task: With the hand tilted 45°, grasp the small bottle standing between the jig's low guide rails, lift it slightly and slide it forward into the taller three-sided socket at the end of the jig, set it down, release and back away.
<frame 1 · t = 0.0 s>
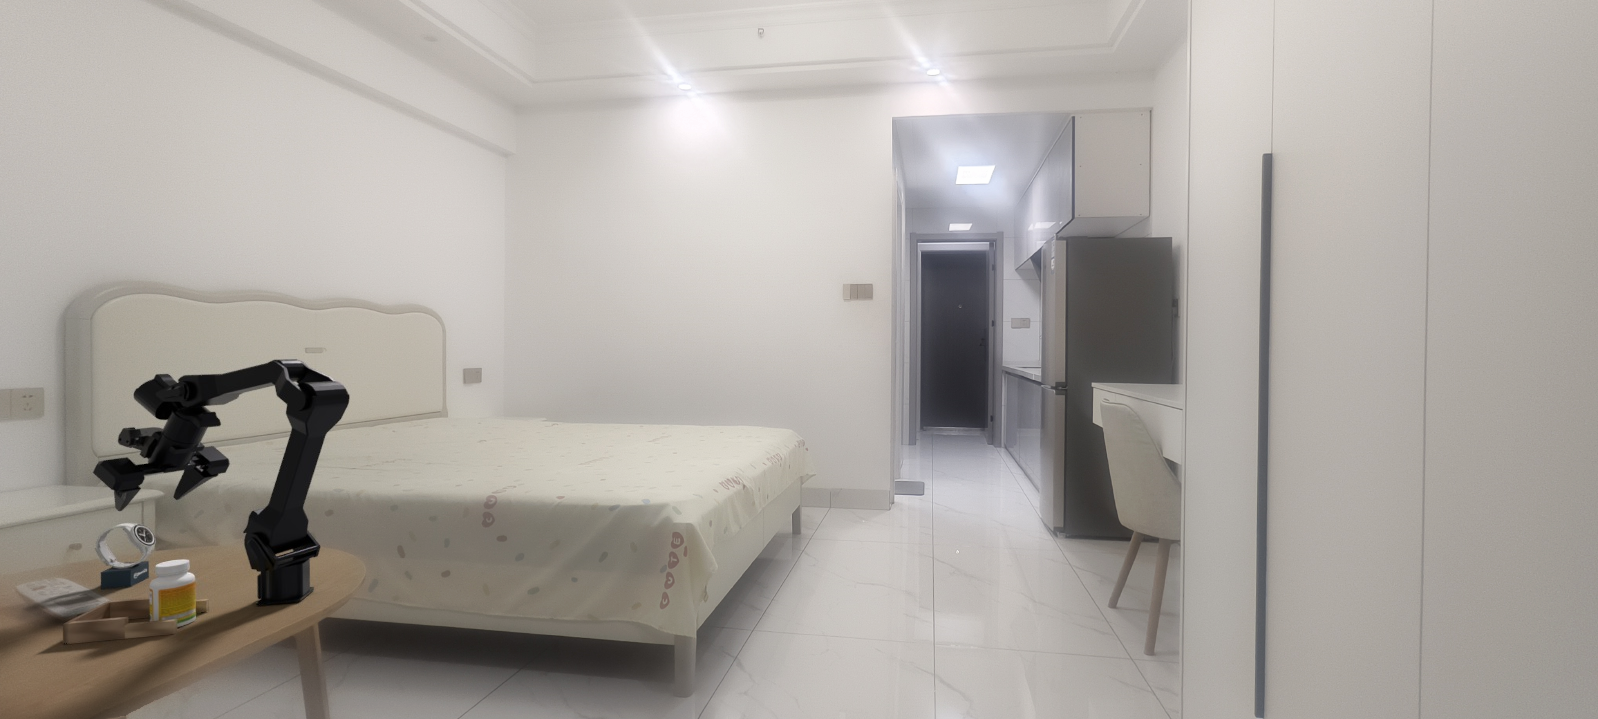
hand: (148, 503, 126), 15 cm above the table, tool tilted 35°, fingers open, 9 cm apart
supplement bottle: (173, 624, 108), on the table
watch: (126, 583, 127), on the table
jig: (148, 625, 107), on the table
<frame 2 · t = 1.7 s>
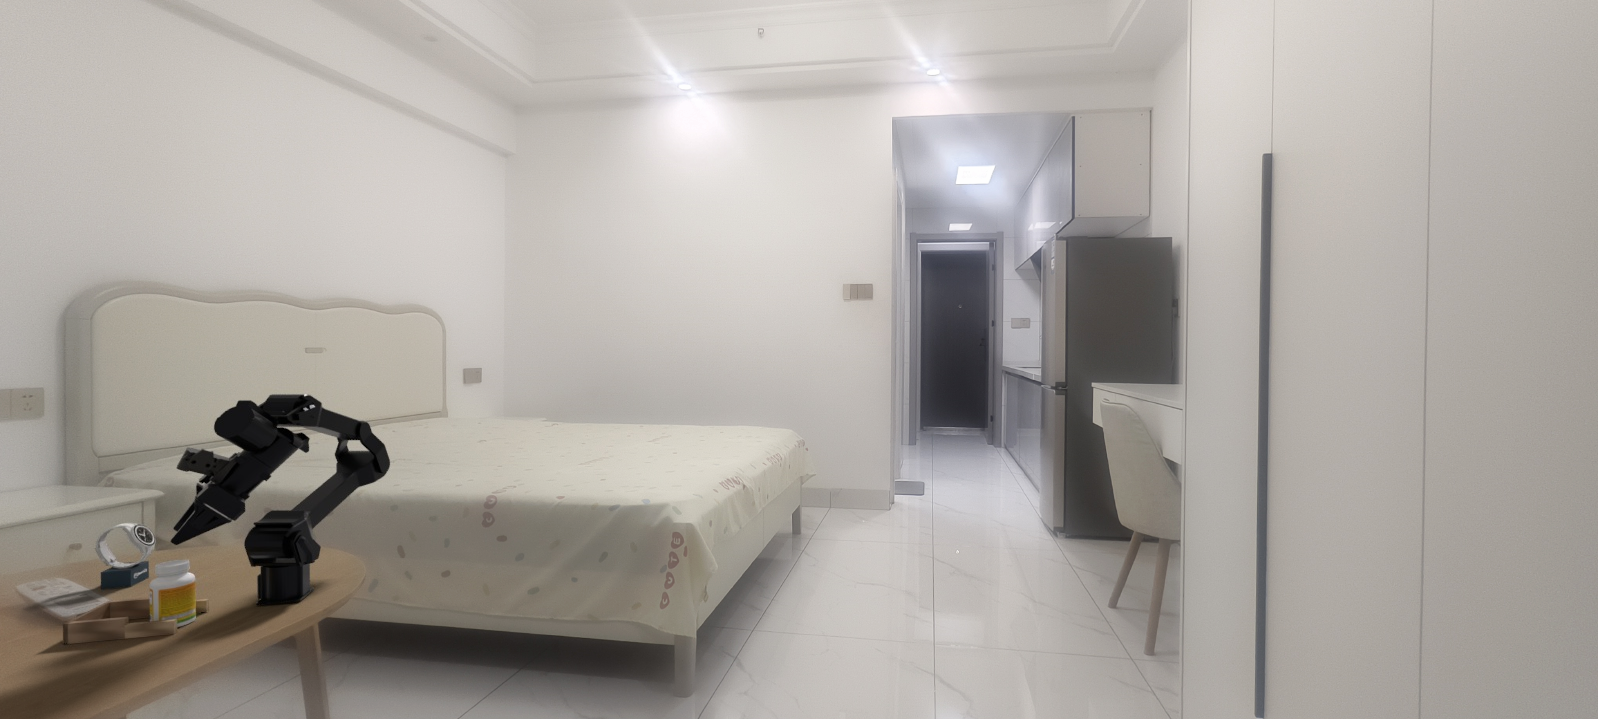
hand: (174, 536, 108), 14 cm above the table, tool tilted 45°, fingers open, 9 cm apart
nothing on the table moved.
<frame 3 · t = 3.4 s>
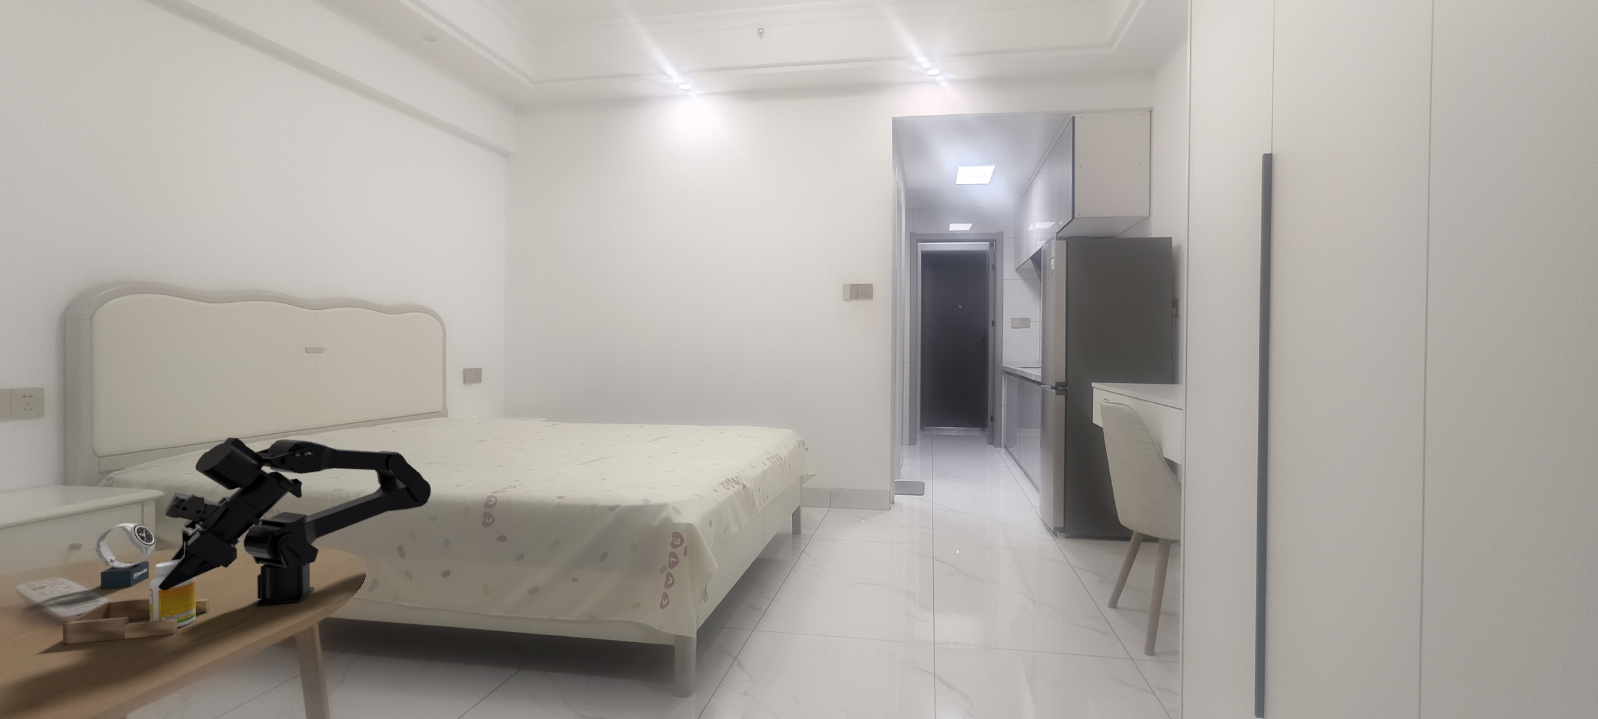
hand: (160, 584, 107), 7 cm above the table, tool tilted 45°, fingers closed on supplement bottle, 5 cm apart
supplement bottle: (173, 624, 108), on the table, touching gripper
everything else where it was.
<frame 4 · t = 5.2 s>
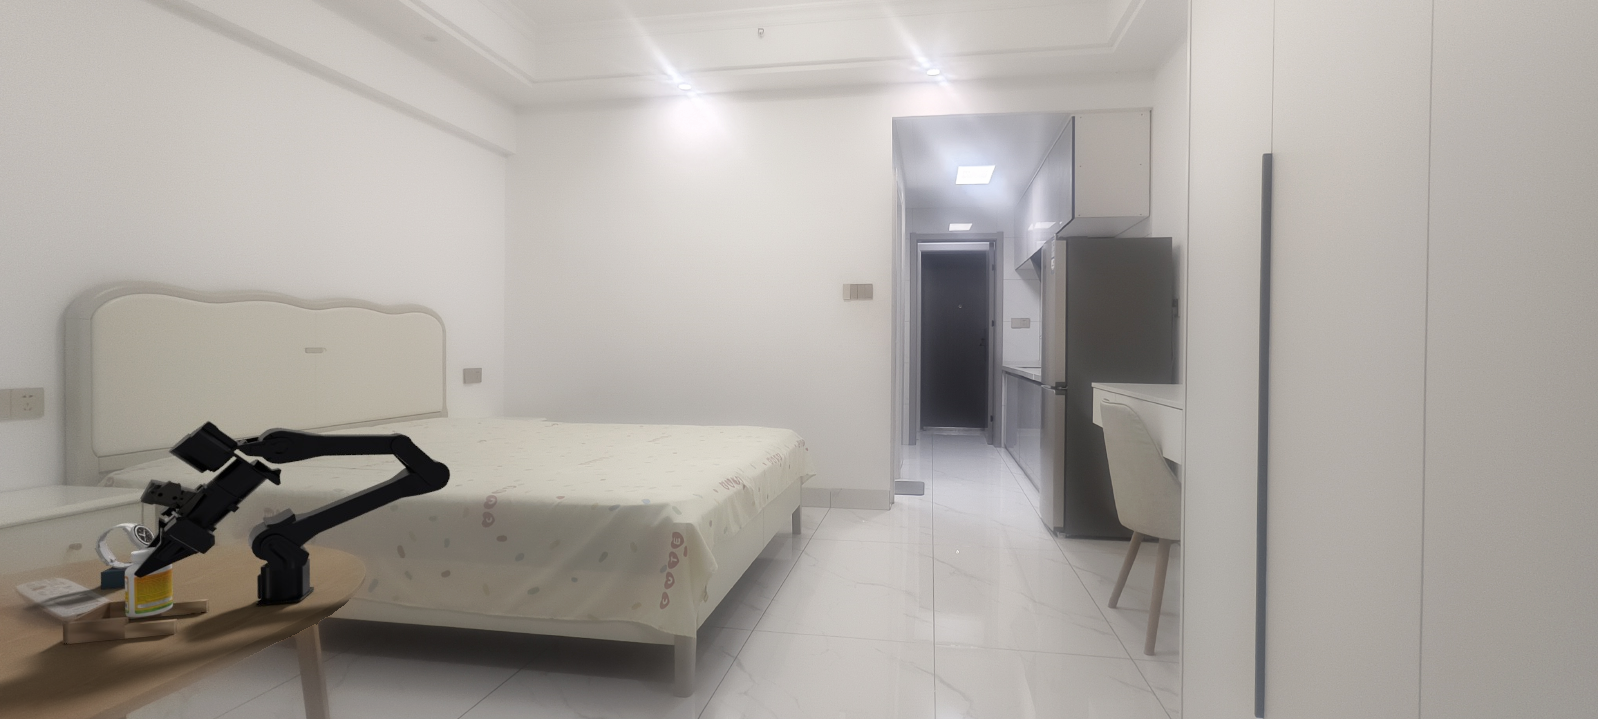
hand: (136, 571, 106), 9 cm above the table, tool tilted 45°, fingers closed on supplement bottle, 5 cm apart
supplement bottle: (149, 612, 107), point 2 cm above the table, touching gripper
everything else where it was.
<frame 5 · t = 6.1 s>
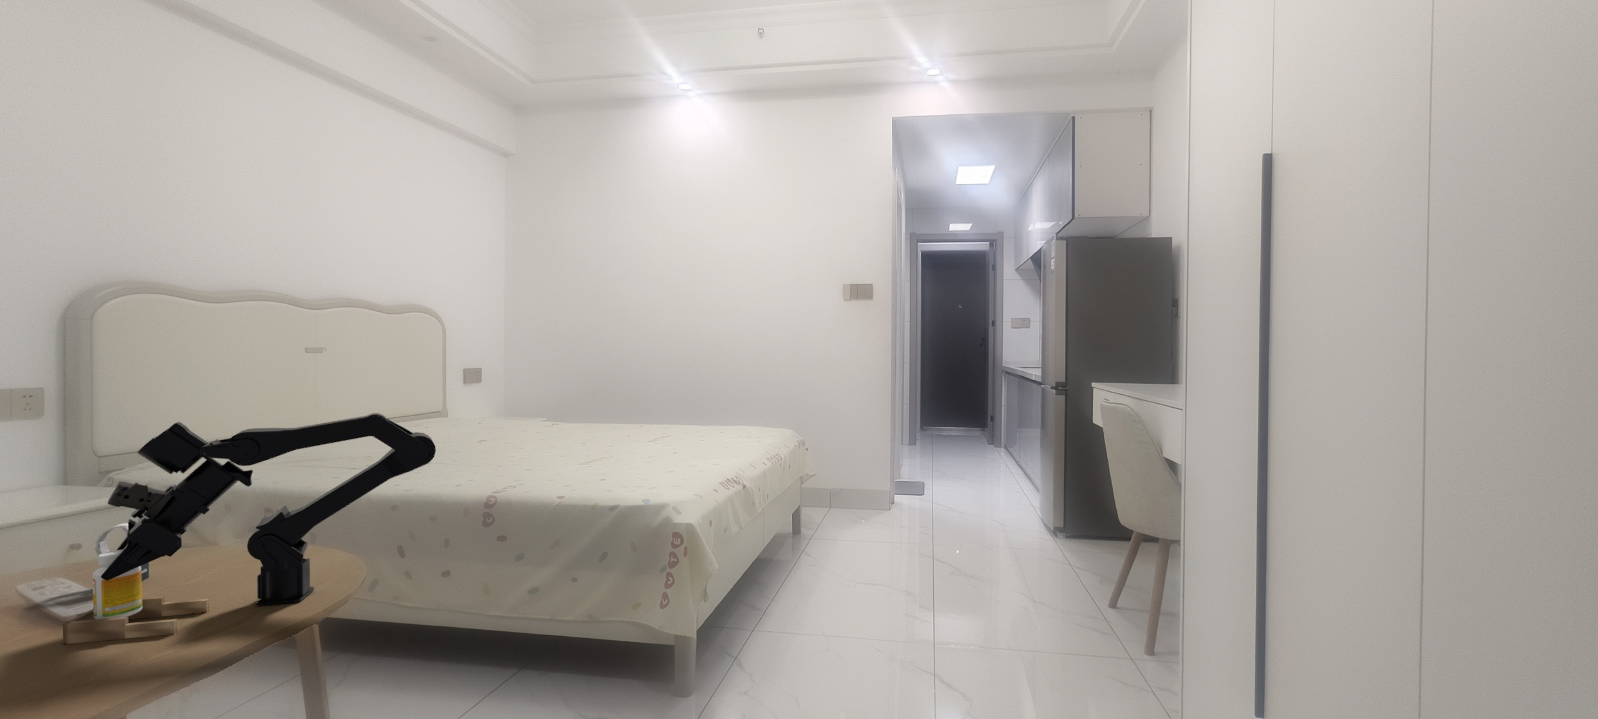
hand: (104, 574, 105), 9 cm above the table, tool tilted 45°, fingers closed on supplement bottle, 5 cm apart
supplement bottle: (118, 615, 106), point 2 cm above the table, touching gripper
everything else where it was.
when the fingers open (7 cm above the table, at t = 7.0 s): supplement bottle stays where it is, on the table.
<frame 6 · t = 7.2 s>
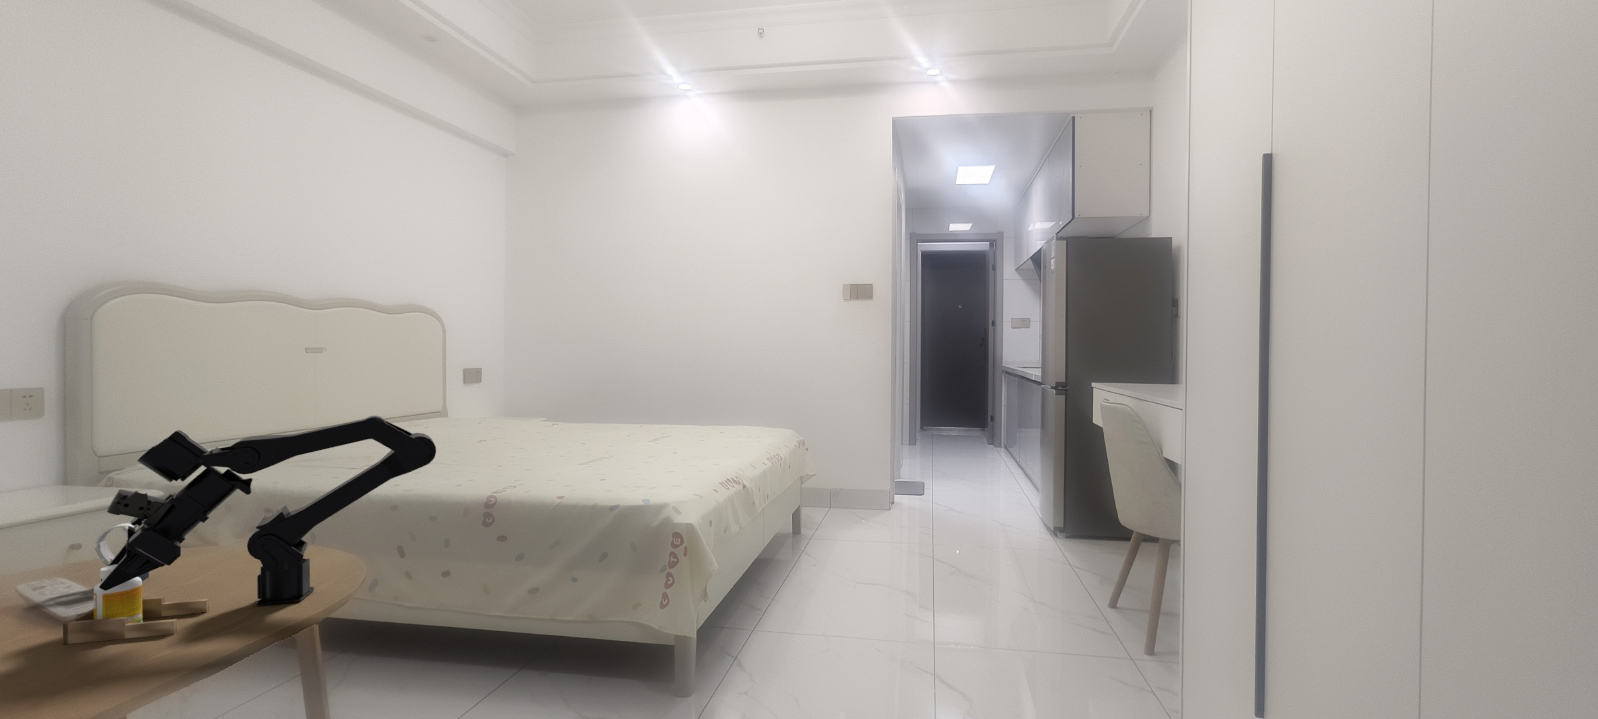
hand: (103, 582, 105), 8 cm above the table, tool tilted 45°, fingers open, 7 cm apart
supplement bottle: (118, 629, 106), on the table
everything else where it was.
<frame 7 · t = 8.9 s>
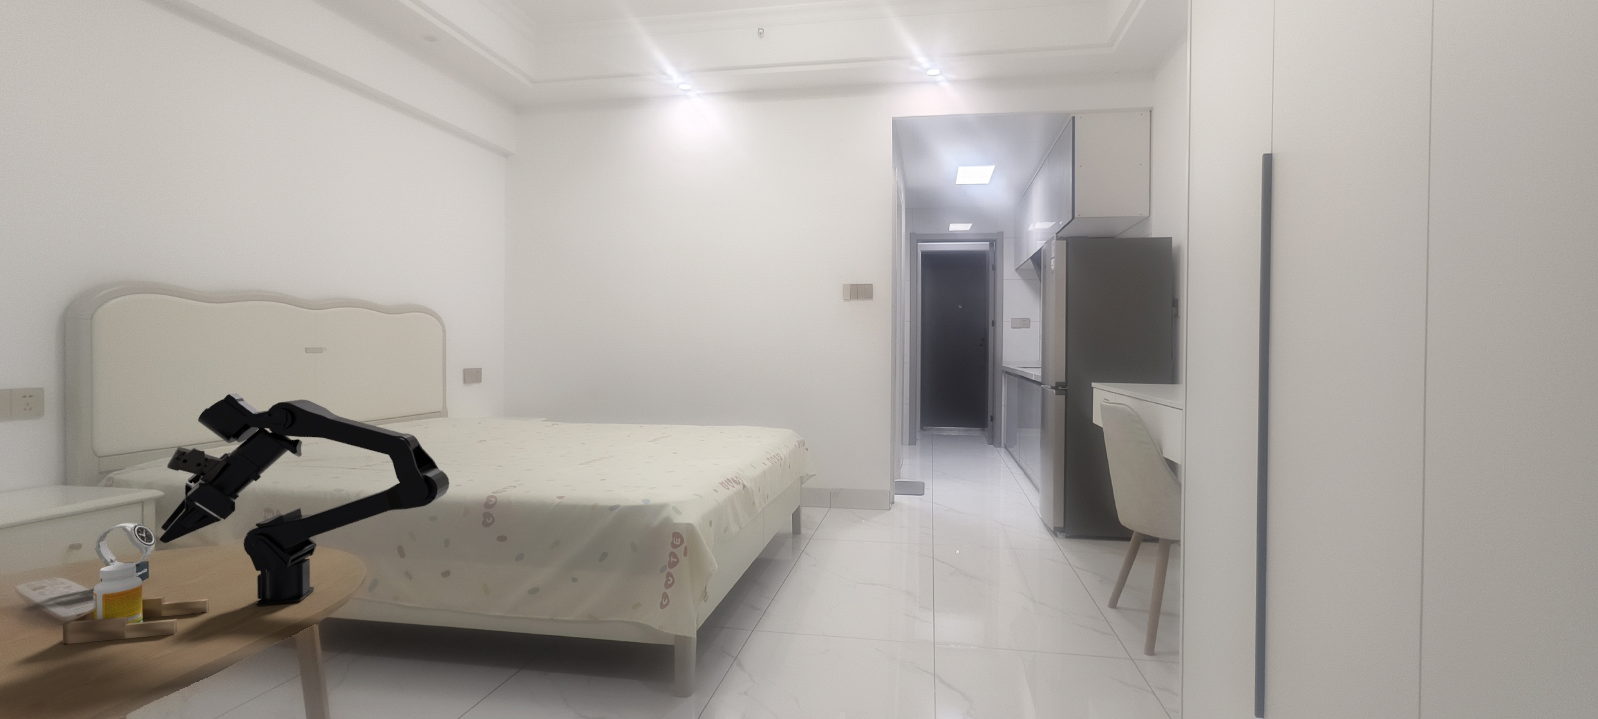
hand: (162, 535, 110), 14 cm above the table, tool tilted 45°, fingers open, 9 cm apart
nothing on the table moved.
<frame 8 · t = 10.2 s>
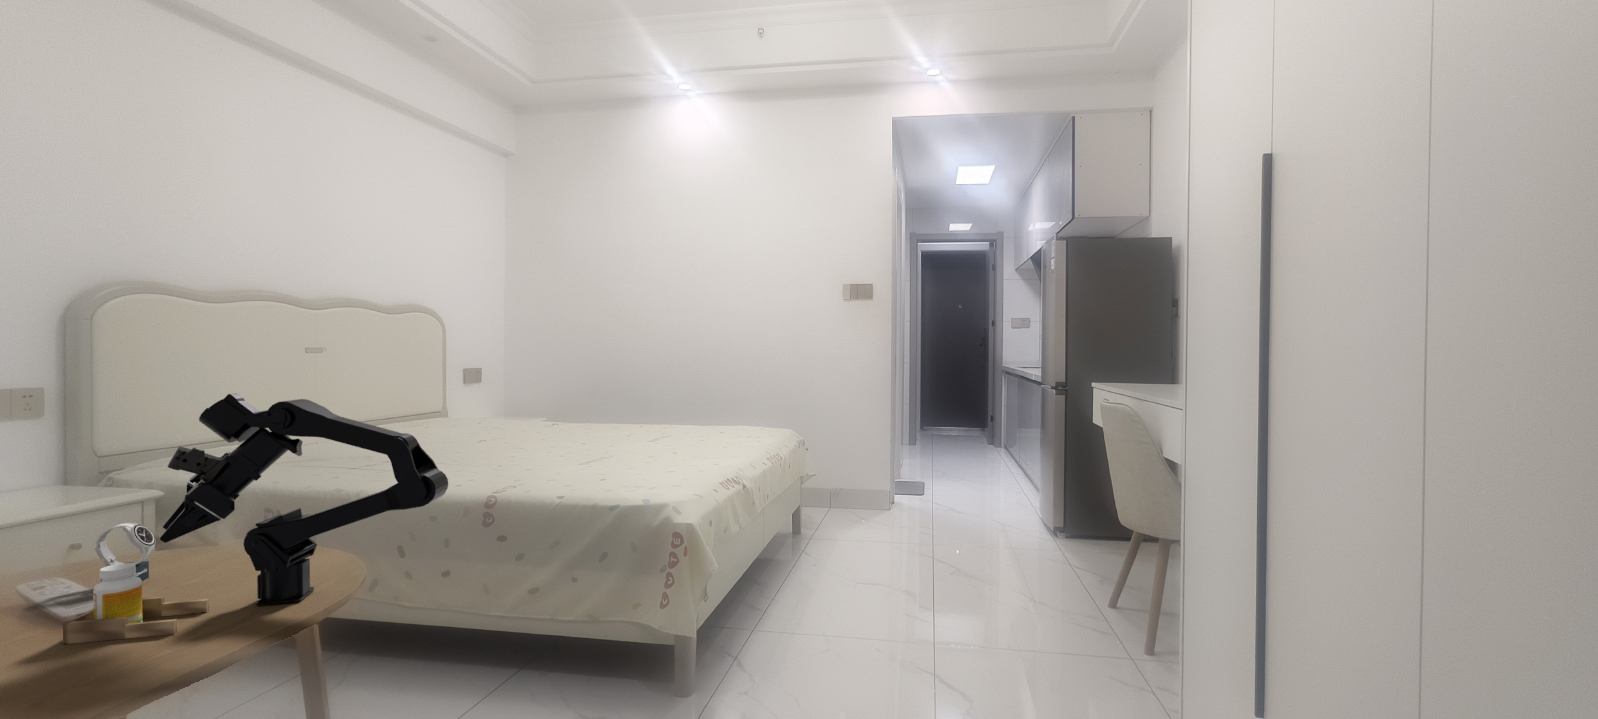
hand: (163, 534, 110), 14 cm above the table, tool tilted 45°, fingers open, 9 cm apart
nothing on the table moved.
at the end: supplement bottle 0.3 cm from the target spot on the jig, point 0.0 cm above the jig's base; supplement bottle tilted 0°; the gripper is holding nothing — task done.
